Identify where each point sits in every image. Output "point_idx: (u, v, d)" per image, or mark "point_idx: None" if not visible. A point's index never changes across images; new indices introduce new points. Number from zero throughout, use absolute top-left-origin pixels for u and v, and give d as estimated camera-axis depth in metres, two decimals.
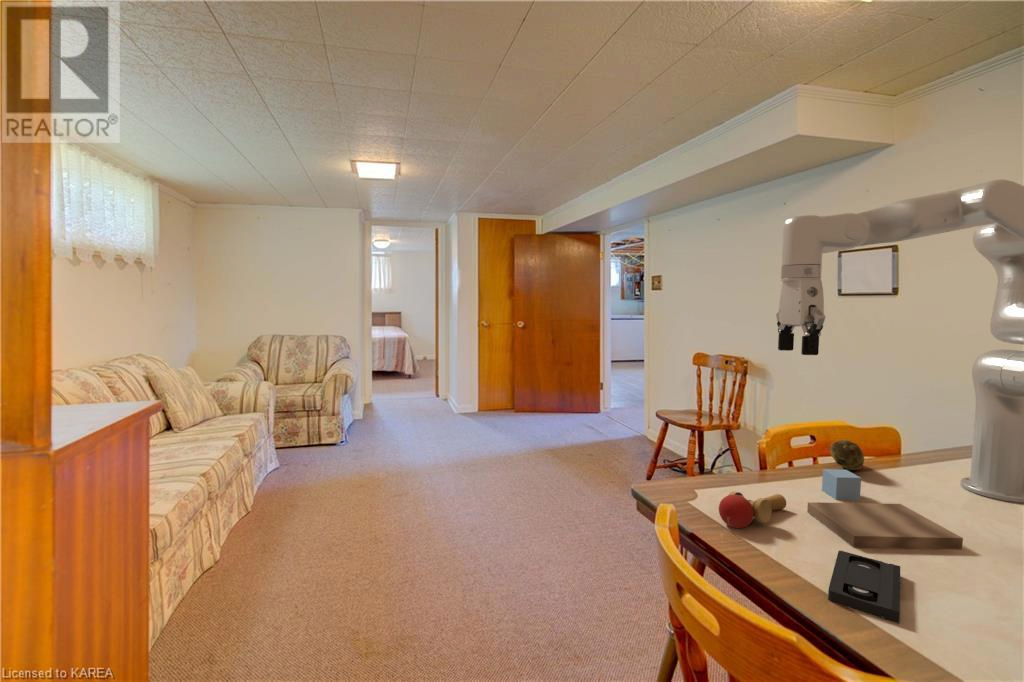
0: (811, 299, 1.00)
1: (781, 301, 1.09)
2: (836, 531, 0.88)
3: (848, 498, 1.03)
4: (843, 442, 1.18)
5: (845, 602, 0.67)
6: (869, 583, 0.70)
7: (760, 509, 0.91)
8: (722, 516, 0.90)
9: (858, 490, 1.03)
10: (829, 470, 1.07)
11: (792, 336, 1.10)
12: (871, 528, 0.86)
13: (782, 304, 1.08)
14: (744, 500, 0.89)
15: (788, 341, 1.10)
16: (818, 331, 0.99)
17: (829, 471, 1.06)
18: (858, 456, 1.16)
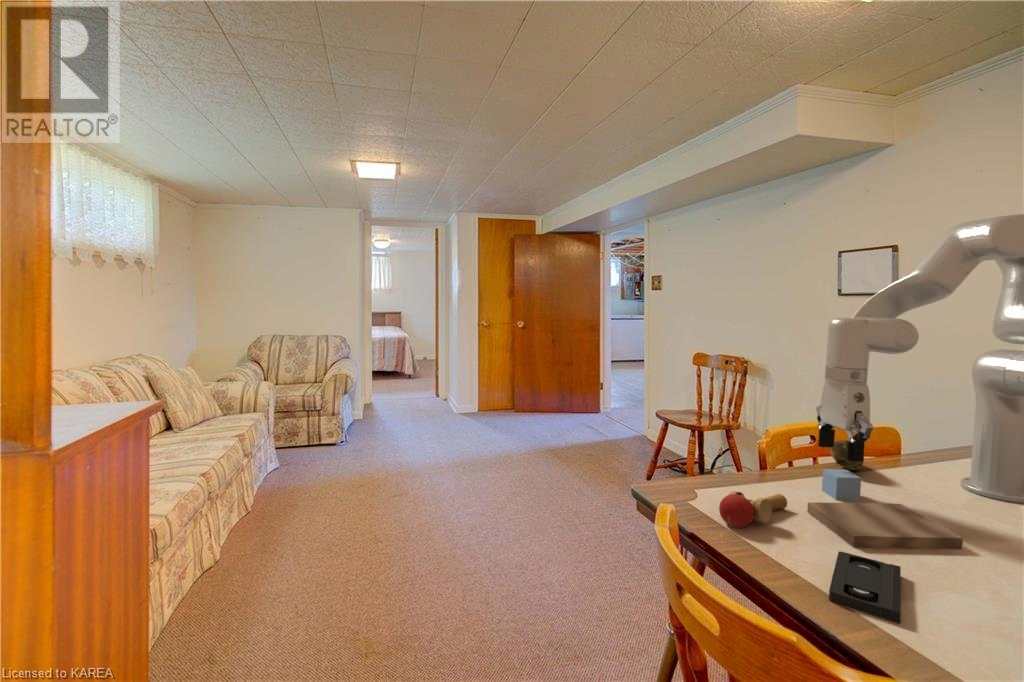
0: (857, 405, 0.99)
1: (823, 399, 1.07)
2: (836, 531, 0.88)
3: (848, 498, 1.03)
4: (843, 442, 1.18)
5: (846, 603, 0.67)
6: (869, 584, 0.70)
7: (760, 509, 0.91)
8: (722, 515, 0.91)
9: (858, 490, 1.03)
10: (829, 470, 1.07)
11: (833, 433, 1.09)
12: (871, 528, 0.86)
13: (825, 402, 1.06)
14: (744, 500, 0.90)
15: (829, 438, 1.09)
16: (864, 439, 0.97)
17: (829, 471, 1.06)
18: None
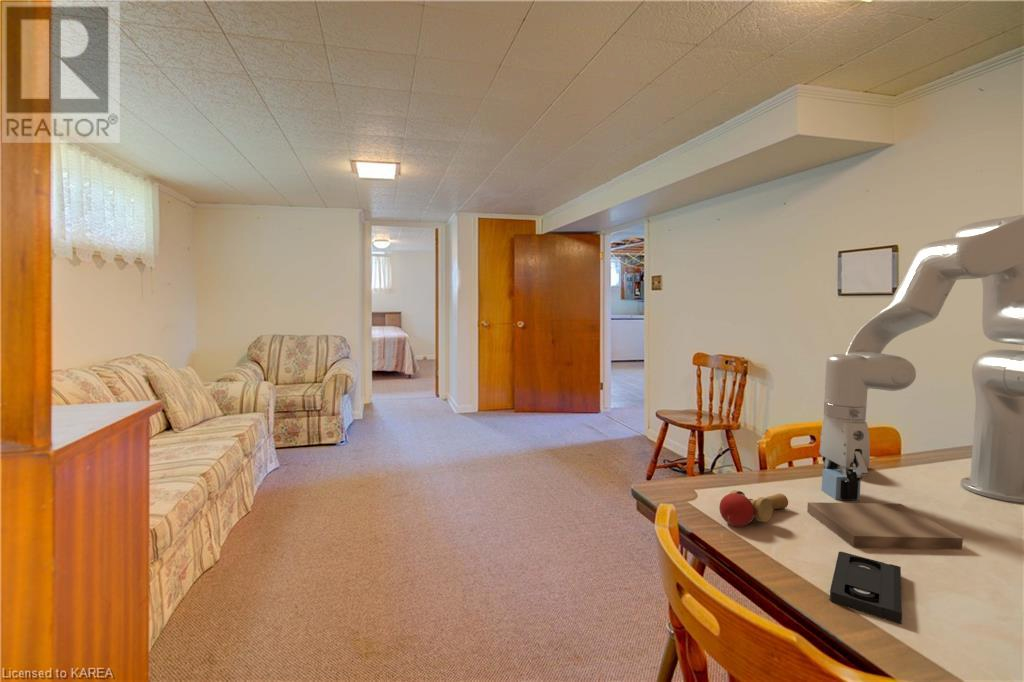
0: (857, 443, 0.99)
1: (823, 434, 1.08)
2: (836, 531, 0.88)
3: None
4: None
5: (847, 603, 0.67)
6: (870, 584, 0.70)
7: (761, 508, 0.91)
8: (722, 514, 0.91)
9: (858, 490, 1.03)
10: (829, 470, 1.07)
11: None
12: (871, 528, 0.86)
13: (824, 438, 1.07)
14: (745, 499, 0.90)
15: None
16: (858, 479, 1.00)
17: (829, 471, 1.06)
18: None
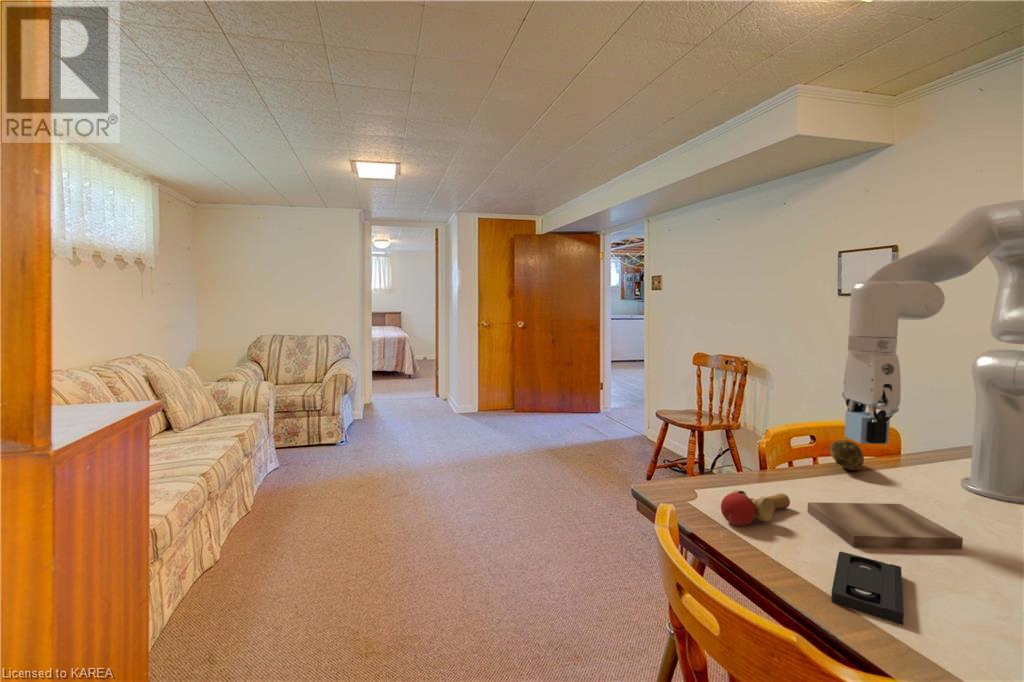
0: (886, 377, 0.88)
1: (847, 373, 0.97)
2: (836, 531, 0.88)
3: None
4: (843, 442, 1.18)
5: (848, 604, 0.66)
6: (871, 584, 0.69)
7: (762, 507, 0.92)
8: (724, 514, 0.91)
9: None
10: (853, 412, 0.96)
11: None
12: (871, 528, 0.86)
13: (848, 377, 0.96)
14: (746, 498, 0.90)
15: None
16: (887, 418, 0.89)
17: (853, 413, 0.95)
18: (858, 456, 1.16)
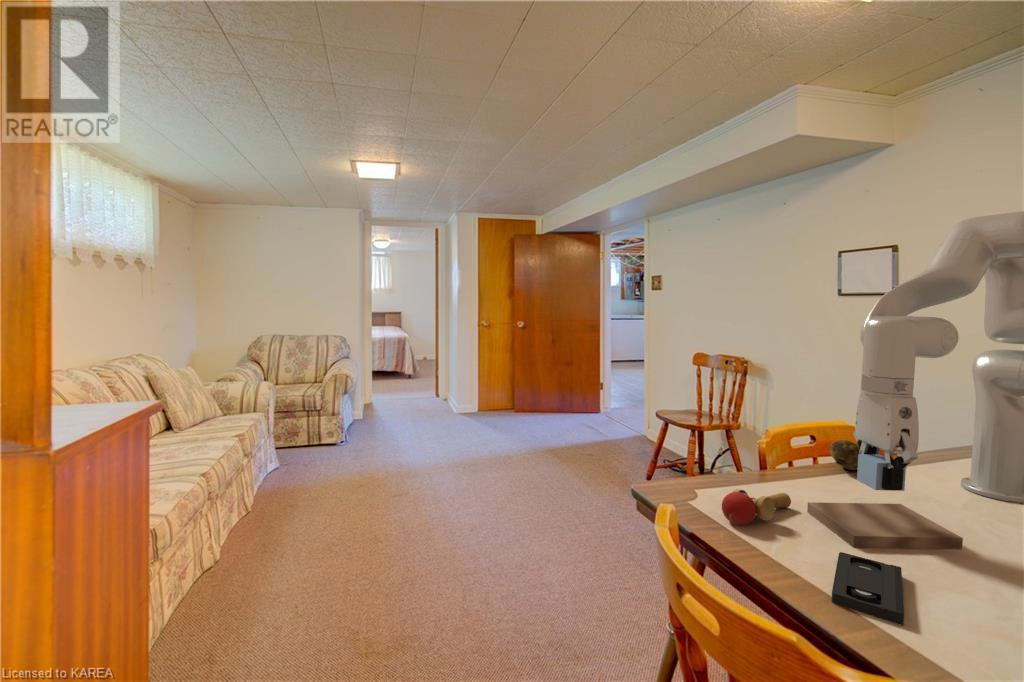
0: (904, 422, 0.83)
1: (859, 413, 0.91)
2: (836, 531, 0.88)
3: None
4: (843, 442, 1.18)
5: (849, 605, 0.66)
6: (871, 585, 0.69)
7: (763, 507, 0.92)
8: (725, 513, 0.92)
9: None
10: (866, 455, 0.90)
11: None
12: (871, 528, 0.86)
13: (861, 417, 0.91)
14: (747, 498, 0.91)
15: None
16: (904, 465, 0.84)
17: (866, 457, 0.89)
18: None
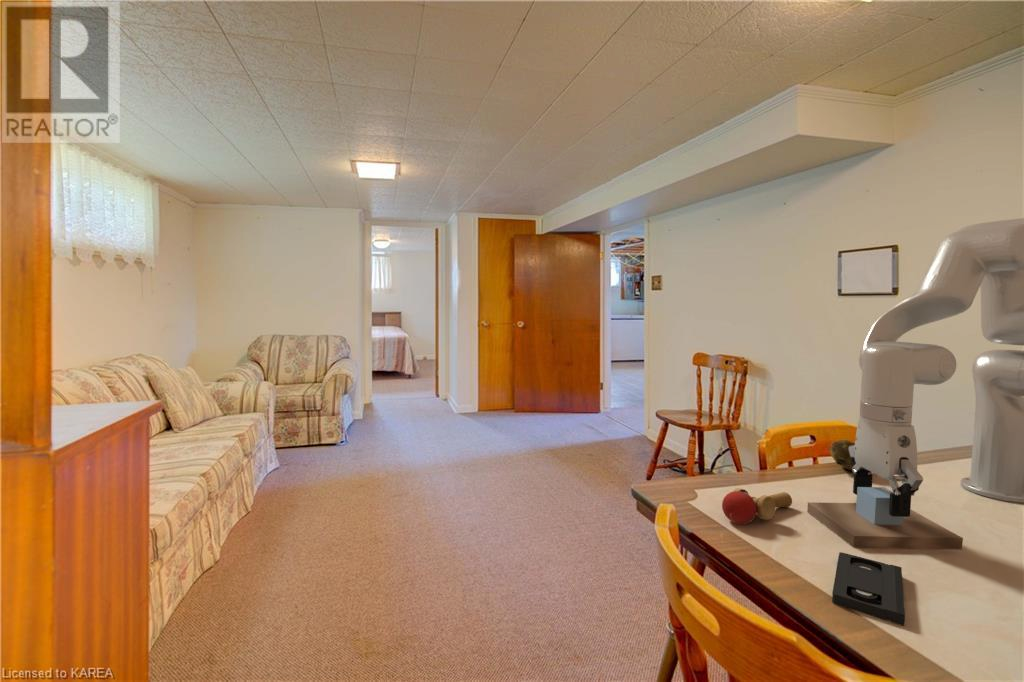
0: (902, 450, 0.83)
1: (858, 439, 0.92)
2: (836, 531, 0.88)
3: (889, 522, 0.87)
4: (843, 442, 1.18)
5: (849, 605, 0.66)
6: (872, 585, 0.69)
7: (763, 506, 0.92)
8: (725, 512, 0.92)
9: None
10: (865, 488, 0.91)
11: (870, 479, 0.93)
12: (871, 528, 0.86)
13: (860, 444, 0.91)
14: (747, 497, 0.91)
15: (866, 484, 0.93)
16: (912, 492, 0.82)
17: (865, 490, 0.90)
18: None
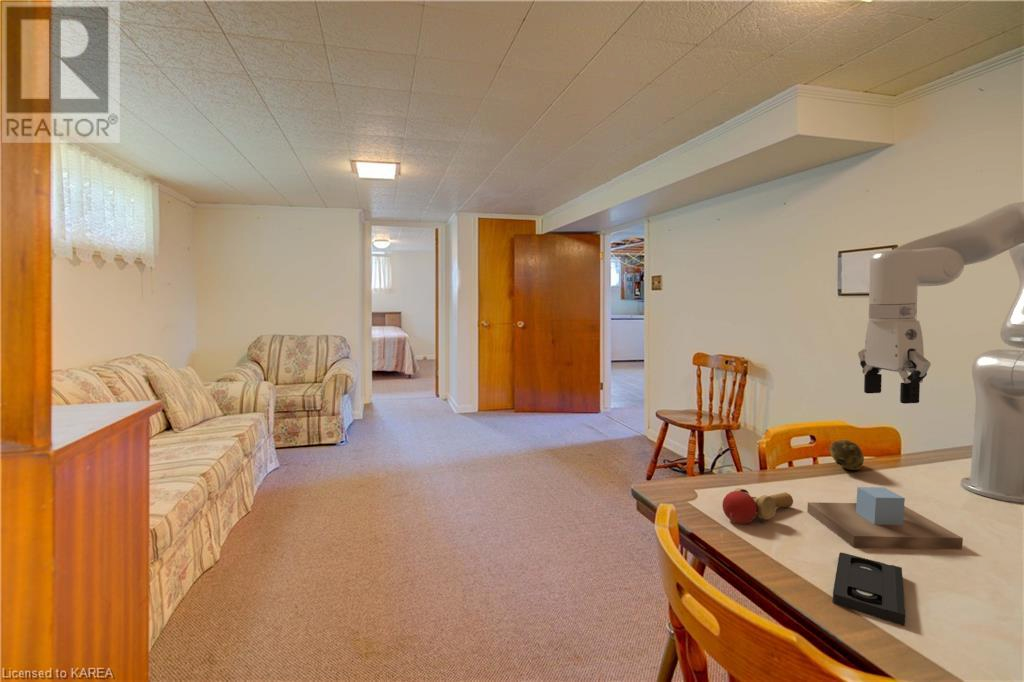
0: (910, 342, 0.92)
1: (868, 341, 1.00)
2: (836, 531, 0.88)
3: (889, 522, 0.87)
4: (843, 442, 1.18)
5: (850, 605, 0.66)
6: (872, 585, 0.69)
7: (764, 506, 0.93)
8: (725, 511, 0.92)
9: (901, 513, 0.87)
10: (865, 488, 0.91)
11: (880, 378, 1.02)
12: (871, 528, 0.86)
13: (870, 345, 0.99)
14: (747, 497, 0.91)
15: (875, 383, 1.02)
16: (921, 378, 0.90)
17: (865, 490, 0.90)
18: (858, 456, 1.16)
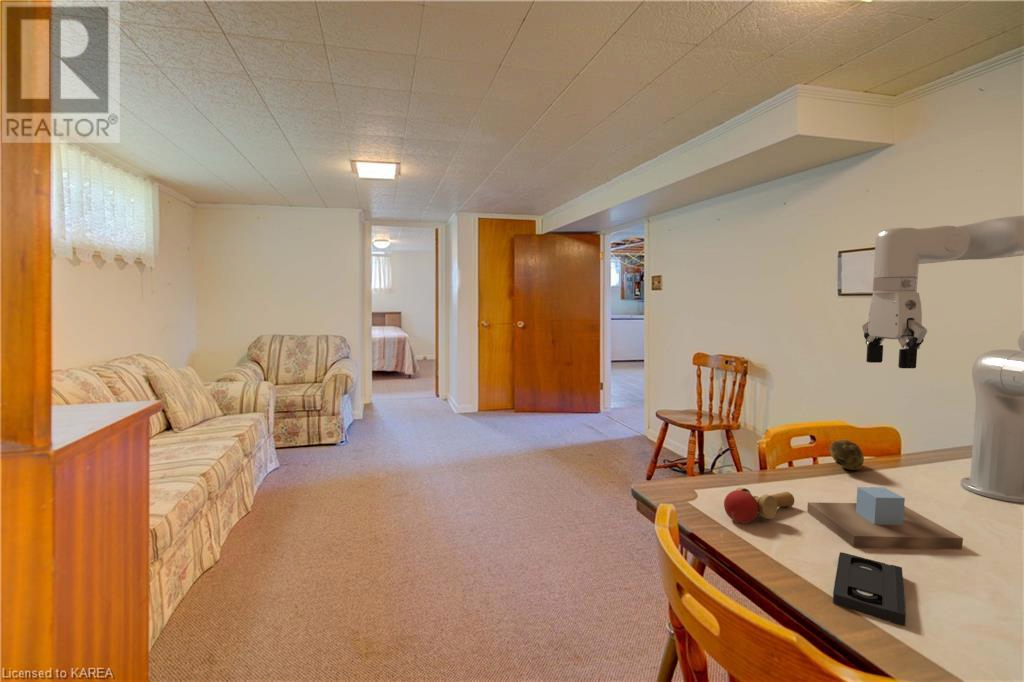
0: (909, 312, 1.00)
1: (871, 313, 1.08)
2: (836, 531, 0.88)
3: (889, 522, 0.87)
4: (843, 442, 1.18)
5: (850, 606, 0.66)
6: (872, 585, 0.69)
7: (765, 505, 0.93)
8: (727, 511, 0.93)
9: (901, 513, 0.87)
10: (865, 488, 0.91)
11: (881, 348, 1.10)
12: (871, 528, 0.86)
13: (873, 316, 1.07)
14: (749, 496, 0.91)
15: (877, 353, 1.10)
16: (918, 344, 0.98)
17: (865, 490, 0.90)
18: (858, 456, 1.16)
